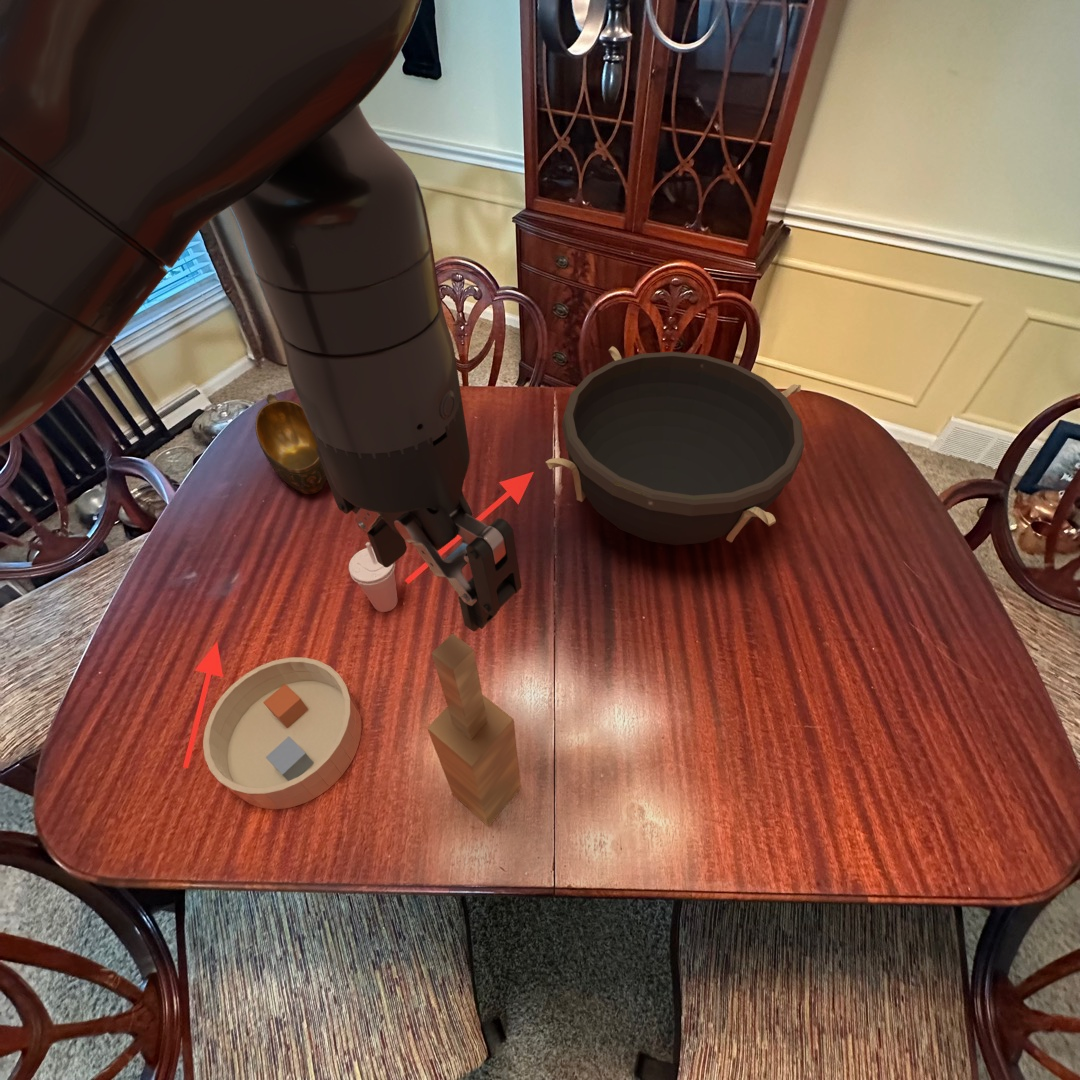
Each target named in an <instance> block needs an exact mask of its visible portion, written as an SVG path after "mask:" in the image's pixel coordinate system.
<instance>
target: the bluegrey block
mask: <svg viewBox="0 0 1080 1080" xmlns="http://www.w3.org/2000/svg"><path fill="white" fill-rule="evenodd" d="M266 758H267V759H268V761H269V762H270V763H271V764H272V765H273V766H274V767H275V768H276V769H277V770H278V771H279V772H280V773H281V774H282V775H283V776H284V777H285V778H286V779H287V780H288V781H290V780H292V779H294V778H297V777H299V776H300V775H302V774H303V773H304V772H305V771H306V770H307V769H308V768H309V767H310V766H311V765H312V764H313V763H314V762H313V761H312V760H311V759H310V758H309V756H308V755H307V754H306V753H305V752H304V751H303V750H302V749H301V748H300V747H299V746H298V745H297V744H296V743H295V742H294V741H293V740H292V739H291V738H290V737H289V736H288V737H287V738H286V739H285V740H284V741H283V742H282V743H281V744H280V745H279V746H277V747H276V748H275V749H274V750H273V751H272V752H271V753H270V754H269V755H268V756H266Z"/></svg>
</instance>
